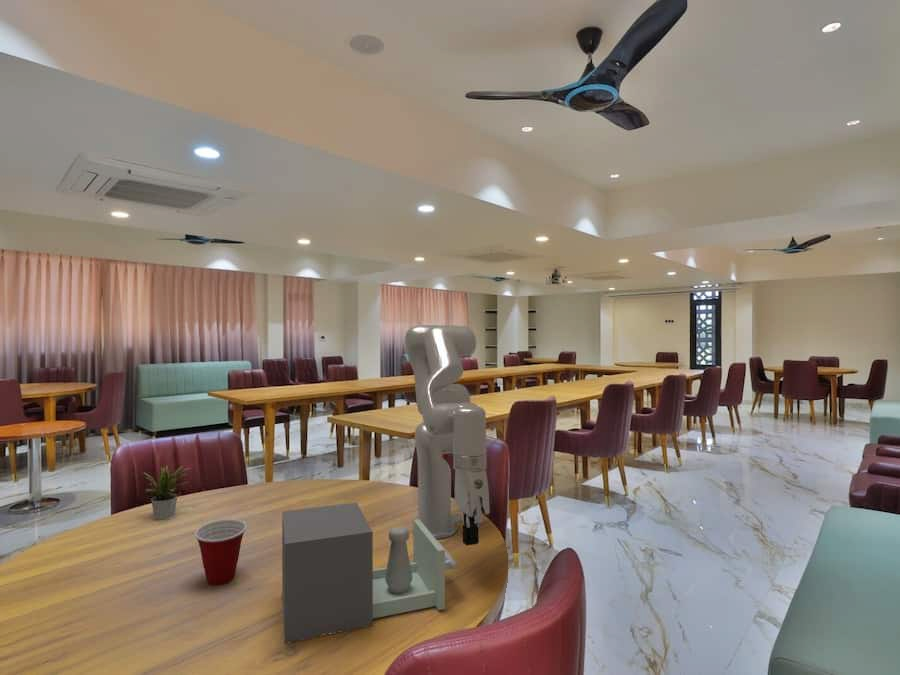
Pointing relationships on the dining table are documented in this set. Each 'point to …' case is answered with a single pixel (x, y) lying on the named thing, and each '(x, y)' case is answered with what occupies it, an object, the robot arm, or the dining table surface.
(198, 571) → the dining table surface
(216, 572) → the plastic cup
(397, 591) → the salt shaker
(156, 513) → the house plant
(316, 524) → the cabinet
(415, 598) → the drawer
